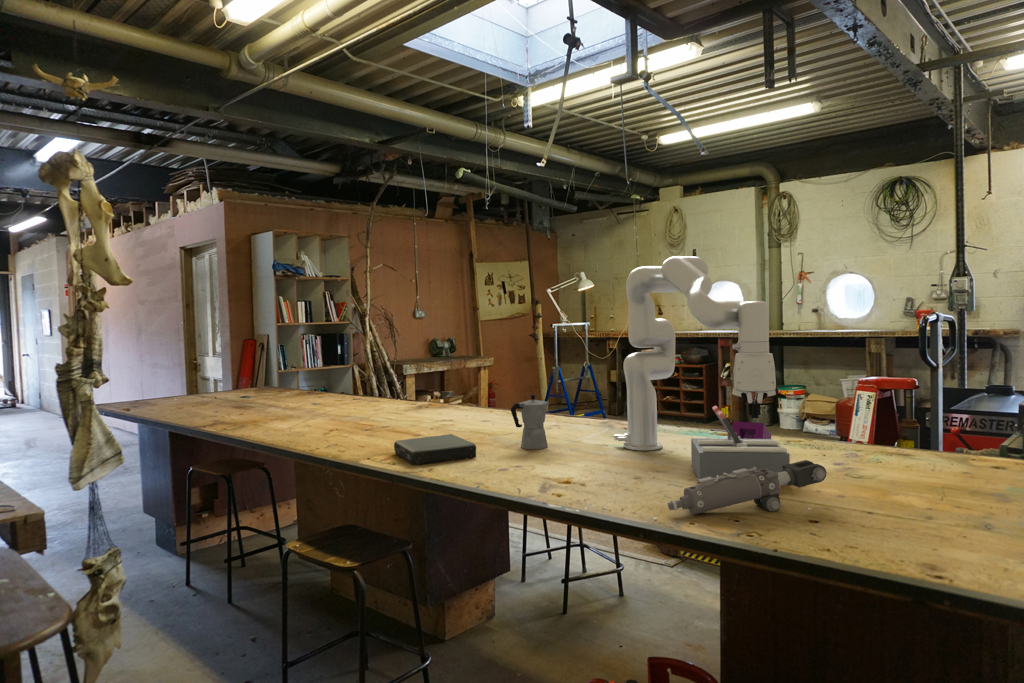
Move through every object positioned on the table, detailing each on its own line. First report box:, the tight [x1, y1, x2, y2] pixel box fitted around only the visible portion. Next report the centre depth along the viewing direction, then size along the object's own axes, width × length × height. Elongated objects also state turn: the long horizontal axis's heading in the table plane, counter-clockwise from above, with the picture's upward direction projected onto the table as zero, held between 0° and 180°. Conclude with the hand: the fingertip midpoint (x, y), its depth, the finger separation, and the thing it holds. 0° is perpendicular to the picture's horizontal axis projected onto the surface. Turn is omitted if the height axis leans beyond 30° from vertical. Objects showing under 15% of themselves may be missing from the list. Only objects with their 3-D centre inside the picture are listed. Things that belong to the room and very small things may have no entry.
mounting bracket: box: [731, 421, 772, 439], centre depth 202 cm, size 10×8×18 cm
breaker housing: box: [690, 405, 791, 486], centre depth 170 cm, size 22×19×18 cm
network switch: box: [393, 433, 477, 466], centre depth 204 cm, size 23×24×5 cm
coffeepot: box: [510, 393, 550, 451], centre depth 212 cm, size 15×9×18 cm, turn 122°
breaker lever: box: [717, 409, 741, 445], centre depth 166 cm, size 1×4×11 cm, turn 170°
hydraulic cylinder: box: [667, 459, 828, 516], centre depth 141 cm, size 7×37×10 cm, turn 99°
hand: (753, 417), depth 165 cm, fingers closed
